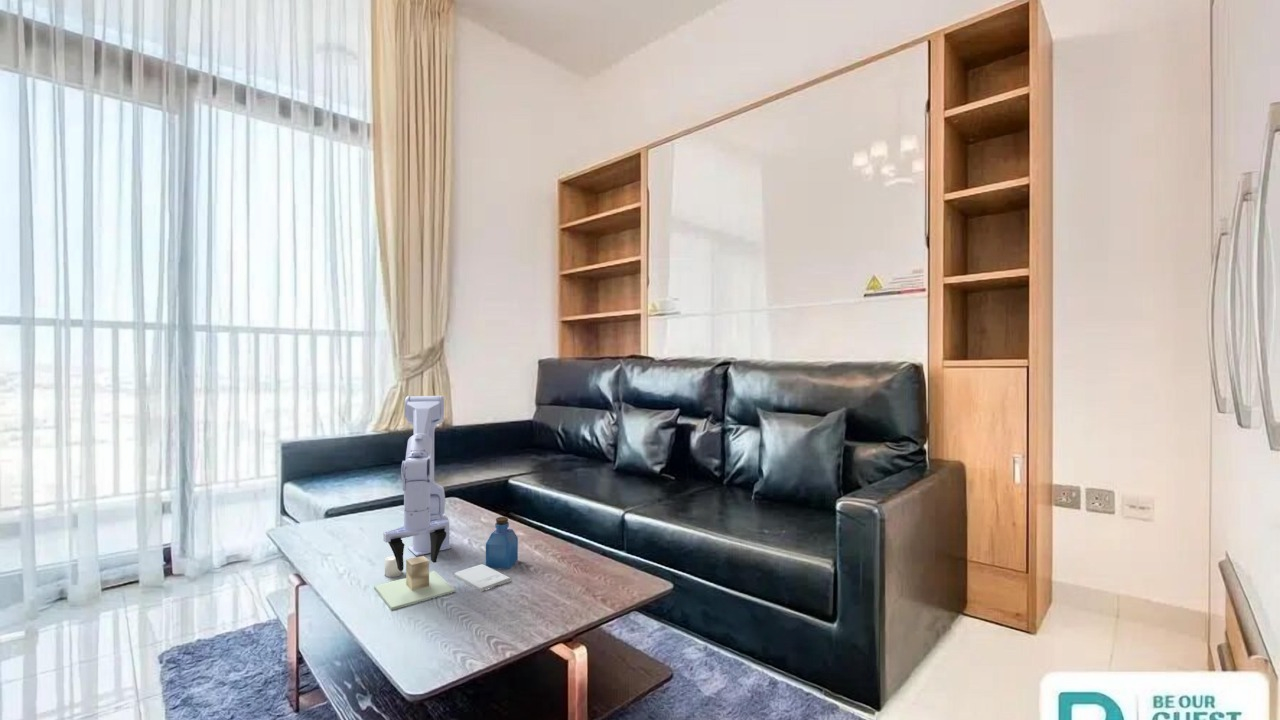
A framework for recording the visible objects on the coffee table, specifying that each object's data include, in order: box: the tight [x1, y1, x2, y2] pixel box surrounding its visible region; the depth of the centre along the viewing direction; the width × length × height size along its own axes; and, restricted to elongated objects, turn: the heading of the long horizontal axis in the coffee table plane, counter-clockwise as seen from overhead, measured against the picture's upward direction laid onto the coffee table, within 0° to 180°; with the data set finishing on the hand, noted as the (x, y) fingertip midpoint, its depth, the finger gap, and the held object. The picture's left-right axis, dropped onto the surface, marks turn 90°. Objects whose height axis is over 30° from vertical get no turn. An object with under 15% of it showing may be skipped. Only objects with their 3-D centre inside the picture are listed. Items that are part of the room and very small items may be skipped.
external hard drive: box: [453, 563, 512, 592], centre depth 135 cm, size 2×8×12 cm
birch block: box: [405, 555, 430, 591], centre depth 129 cm, size 4×4×6 cm
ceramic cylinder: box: [384, 554, 403, 578], centre depth 137 cm, size 4×4×4 cm
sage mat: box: [373, 570, 456, 611], centre depth 128 cm, size 14×14×1 cm
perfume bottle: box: [485, 516, 519, 570], centre depth 144 cm, size 6×6×12 cm
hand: (417, 565), depth 129 cm, fingers open, 7 cm apart
